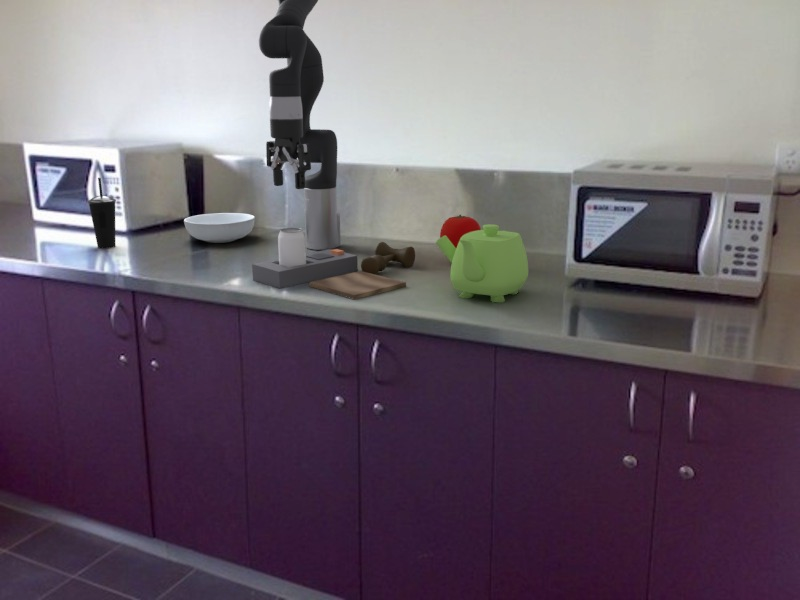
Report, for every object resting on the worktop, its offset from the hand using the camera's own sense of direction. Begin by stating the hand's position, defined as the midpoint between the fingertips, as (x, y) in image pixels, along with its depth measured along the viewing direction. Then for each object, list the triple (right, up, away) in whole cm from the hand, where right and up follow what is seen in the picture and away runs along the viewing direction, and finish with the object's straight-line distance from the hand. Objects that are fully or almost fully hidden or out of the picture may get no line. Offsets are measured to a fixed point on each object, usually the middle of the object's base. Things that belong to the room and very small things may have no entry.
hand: (289, 187), depth 186 cm
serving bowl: (-28, -9, +52) cm, 60 cm away
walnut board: (+16, -23, -2) cm, 29 cm away
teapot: (+43, -26, -9) cm, 51 cm away
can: (0, -22, +6) cm, 22 cm away
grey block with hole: (+3, -21, +9) cm, 23 cm away
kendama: (+23, -19, +16) cm, 34 cm away
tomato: (+42, -17, +21) cm, 50 cm away
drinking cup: (-59, -11, +43) cm, 74 cm away
